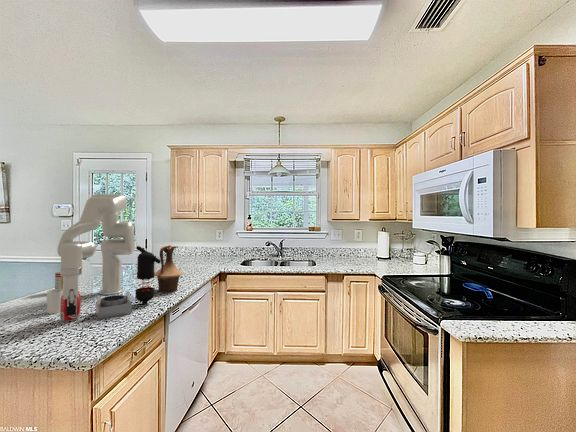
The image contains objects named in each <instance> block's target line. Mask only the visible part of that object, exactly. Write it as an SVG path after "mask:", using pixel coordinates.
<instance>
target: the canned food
mask: <svg viewBox="0 0 576 432" xmlns="http://www.w3.org/2000/svg"><path fill="white" fill-rule="evenodd" d="M60 272H61V270H60V271H56V272H55V273H54V289H63V277H62V276H60Z"/></svg>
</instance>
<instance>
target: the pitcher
mask: <svg viewBox="0 0 576 432" xmlns="http://www.w3.org/2000/svg"><path fill="white" fill-rule="evenodd" d="M179 247H180V246H179V245H171V244H167V245H164V246H162V247H161V248H160V250H159V260H160V261H161V262H160V264H161V265H160V266H161V268H159V269H158V270H157V271H154V273H155V277H156V278H157V283H158V292H161V293H170V292H176V291H178V285H179V280H180V277H181V276H182V275H183V274H184V272H183V271H182V270H180V269H178V267H176V266H175V264H174V259H173V253H174V251H175V249H177V248H179ZM164 253H165V254H166V256H165V257H166V258H165V261H164Z"/></svg>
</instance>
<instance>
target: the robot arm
mask: <svg viewBox="0 0 576 432" xmlns="http://www.w3.org/2000/svg"><path fill="white" fill-rule="evenodd" d="M127 204H128V200H127V197H126V196H125V195H124V194H112V193H111V194H109V193H95V194H92V195H91V196H90V197H89V198H87V200H86V203H85V205H84V208H83V210H82V214H81V216H80V219H79V221H77V222H76V223H74V224H73V225H71V226H70V227H68V229H66V230H65V231H64V232H63V233H62V235H61V237H60V240H59V241H58V246H57V250H56V251H57V254H58V256H59V257H60V271H61V272H60V276H62V277H63V300H65V299H67V306H66V315H67V316H69V315H75V314H76V305H75V299H76V298H77V295H78V291H79V276H81V275H83V259H85V258H91V257H93V256H94V255H95V254H96V252H97V246H96V244H95V243H94V242H92V241H79V240H78V241H74V239H76V238H77V237H79V236H80V235H82V234H86V233H89V232H92V231H94V230H96V229H98V228H99V227H100V225H101V228H102V234H103V236H104V237H105V238H108V239H105V240H103V241H101V244H100V251H101V256H102V259H101V260H102V268H101V269H102V272H101V273H102V275H101V276H102V277H101V278H102V279H101V281H102V282H101V290H99V291H98V294H99V295H100V296H102V295H103V296H113V295H119V294H121V293H123V292H125V289H124V288H123V287H122V260H121V259H120V257H119V256H129V255H130V256H131V255H132V254H133V253H134V252H135V250H136V243H135V242H136V240H135V229H134V228H135V227H134V225H133V223H132V222H130V221H122V220H121V221H120V220H119V213H120V212H122V211H123V210H125V209H126V207H127ZM68 296H69V297H70V298H69V299H68ZM75 296H76V297H75ZM69 300H70V301H69Z"/></svg>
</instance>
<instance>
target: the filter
mask: <svg viewBox="0 0 576 432" xmlns="http://www.w3.org/2000/svg"><path fill="white" fill-rule="evenodd" d="M135 250H137V251H139V252H140V253H139V254H138V255H137V272H136V279H137V280H142V281H143V282H141V285H142V286H141V287H139V288H136V289H135V297H136V300H137V301H139V302H141V304H142V305H147V304H148V302H149V301H151V300H152V299H153V298H154V296H155V287H151V286H150V285H149V284H150V281H149V280H150V279H154V278H155V277H156V276H155V263H157V264H161V259H160V258H158V257H157V255H155V254H154V253H152V252H149V251H148V250H146V249H145V247H141V246H140V245H138V246H135ZM144 280H147V281H146V282H144ZM144 284H145V285H144Z"/></svg>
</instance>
